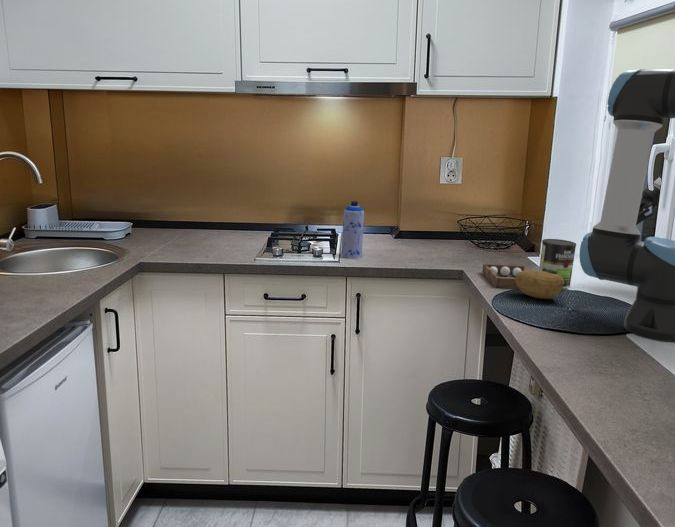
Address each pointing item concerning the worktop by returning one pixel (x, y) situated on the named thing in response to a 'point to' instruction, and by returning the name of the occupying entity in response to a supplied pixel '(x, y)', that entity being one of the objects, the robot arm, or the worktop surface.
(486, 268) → the tray frame
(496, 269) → the pebble
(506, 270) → the pebble
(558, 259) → the coffee can
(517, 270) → the white ball
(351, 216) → the aerosol can
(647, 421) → the worktop surface
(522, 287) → the potato
